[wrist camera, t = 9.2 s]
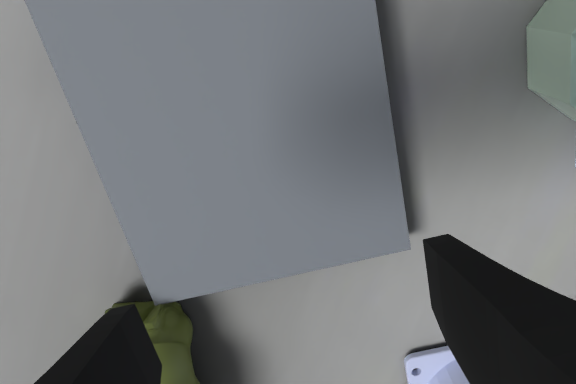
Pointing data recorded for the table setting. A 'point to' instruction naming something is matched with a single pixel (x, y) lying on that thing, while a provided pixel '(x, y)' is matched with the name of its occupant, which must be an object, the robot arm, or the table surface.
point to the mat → (233, 133)
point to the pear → (169, 339)
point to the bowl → (553, 55)
